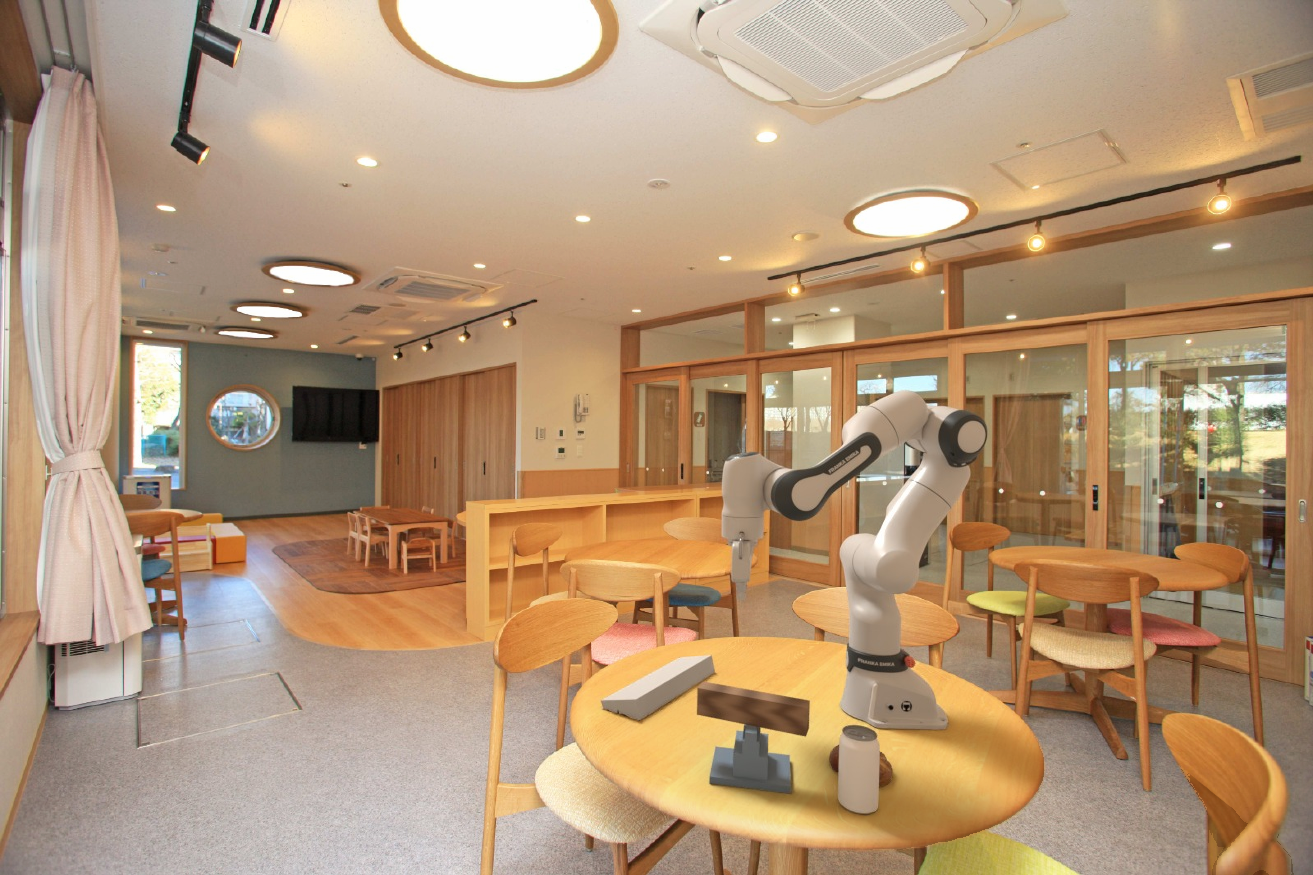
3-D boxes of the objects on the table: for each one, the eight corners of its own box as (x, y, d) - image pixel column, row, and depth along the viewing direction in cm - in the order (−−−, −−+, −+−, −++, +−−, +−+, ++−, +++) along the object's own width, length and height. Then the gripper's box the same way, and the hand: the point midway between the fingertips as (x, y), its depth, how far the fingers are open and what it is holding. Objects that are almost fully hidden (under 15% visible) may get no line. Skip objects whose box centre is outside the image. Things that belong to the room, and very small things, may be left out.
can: (873, 820, 100) (875, 745, 100) (833, 807, 104) (834, 734, 104) (882, 801, 106) (884, 730, 106) (843, 788, 109) (845, 720, 109)
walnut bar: (809, 728, 112) (809, 700, 112) (805, 736, 109) (806, 708, 109) (702, 707, 120) (703, 681, 120) (696, 714, 116) (697, 687, 116)
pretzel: (908, 783, 113) (909, 762, 112) (860, 795, 108) (861, 774, 108) (862, 750, 124) (863, 732, 123) (817, 760, 119) (817, 741, 119)
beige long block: (604, 722, 139) (640, 722, 134) (600, 700, 140) (636, 699, 134) (683, 675, 168) (715, 674, 162) (679, 657, 168) (711, 655, 163)
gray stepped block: (789, 761, 118) (790, 712, 118) (790, 793, 107) (791, 740, 107) (715, 752, 121) (716, 705, 121) (709, 783, 110) (710, 731, 110)
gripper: (757, 537, 121) (756, 608, 121) (758, 522, 141) (757, 584, 142) (724, 536, 122) (723, 606, 122) (730, 522, 143) (729, 582, 143)
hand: (742, 594), depth 132 cm, fingers open, 8 cm apart
